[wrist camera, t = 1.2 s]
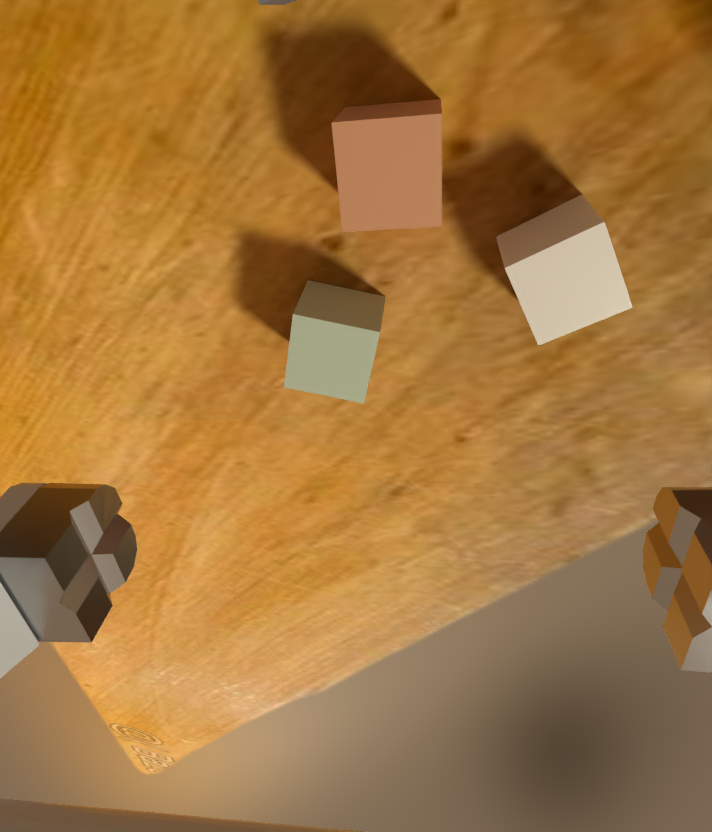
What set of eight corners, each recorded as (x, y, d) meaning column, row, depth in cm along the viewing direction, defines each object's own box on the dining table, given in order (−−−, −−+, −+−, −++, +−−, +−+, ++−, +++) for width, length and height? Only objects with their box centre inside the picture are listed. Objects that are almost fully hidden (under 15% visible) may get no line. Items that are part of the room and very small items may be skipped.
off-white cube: (495, 236, 33) (504, 268, 29) (582, 193, 31) (604, 221, 27) (526, 306, 35) (538, 345, 31) (608, 271, 34) (632, 307, 30)
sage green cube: (308, 279, 36) (292, 314, 32) (385, 295, 36) (380, 332, 32) (298, 347, 39) (284, 387, 35) (370, 362, 39) (363, 403, 35)
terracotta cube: (344, 106, 30) (331, 122, 26) (440, 98, 29) (441, 113, 25) (353, 204, 33) (342, 231, 29) (440, 198, 32) (441, 226, 28)
